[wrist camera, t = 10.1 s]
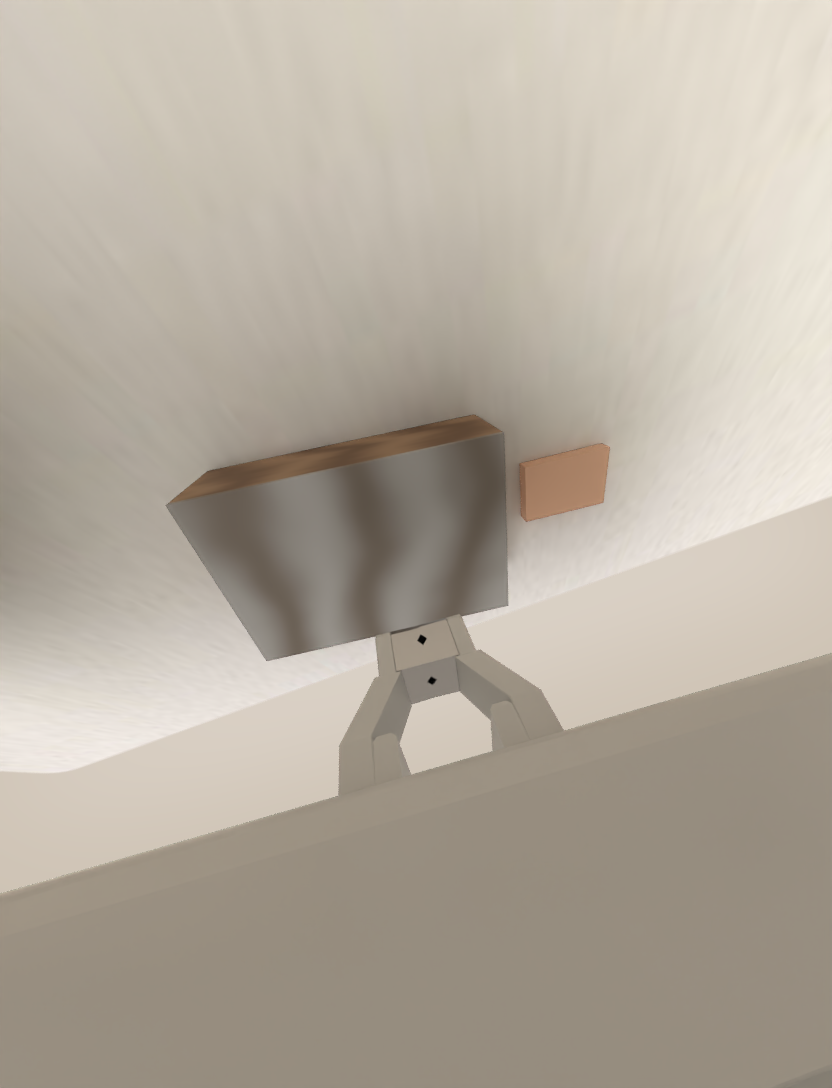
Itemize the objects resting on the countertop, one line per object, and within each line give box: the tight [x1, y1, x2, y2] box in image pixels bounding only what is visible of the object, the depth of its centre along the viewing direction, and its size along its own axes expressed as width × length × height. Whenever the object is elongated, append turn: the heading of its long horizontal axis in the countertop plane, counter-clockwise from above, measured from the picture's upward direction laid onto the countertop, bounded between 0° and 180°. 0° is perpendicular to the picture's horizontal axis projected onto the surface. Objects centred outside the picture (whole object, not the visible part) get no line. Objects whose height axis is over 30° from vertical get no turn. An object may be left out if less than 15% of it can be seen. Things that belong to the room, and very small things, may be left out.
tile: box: [520, 443, 610, 522], centre depth 28 cm, size 7×5×2 cm
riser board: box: [166, 414, 508, 661], centre depth 25 cm, size 20×14×6 cm
